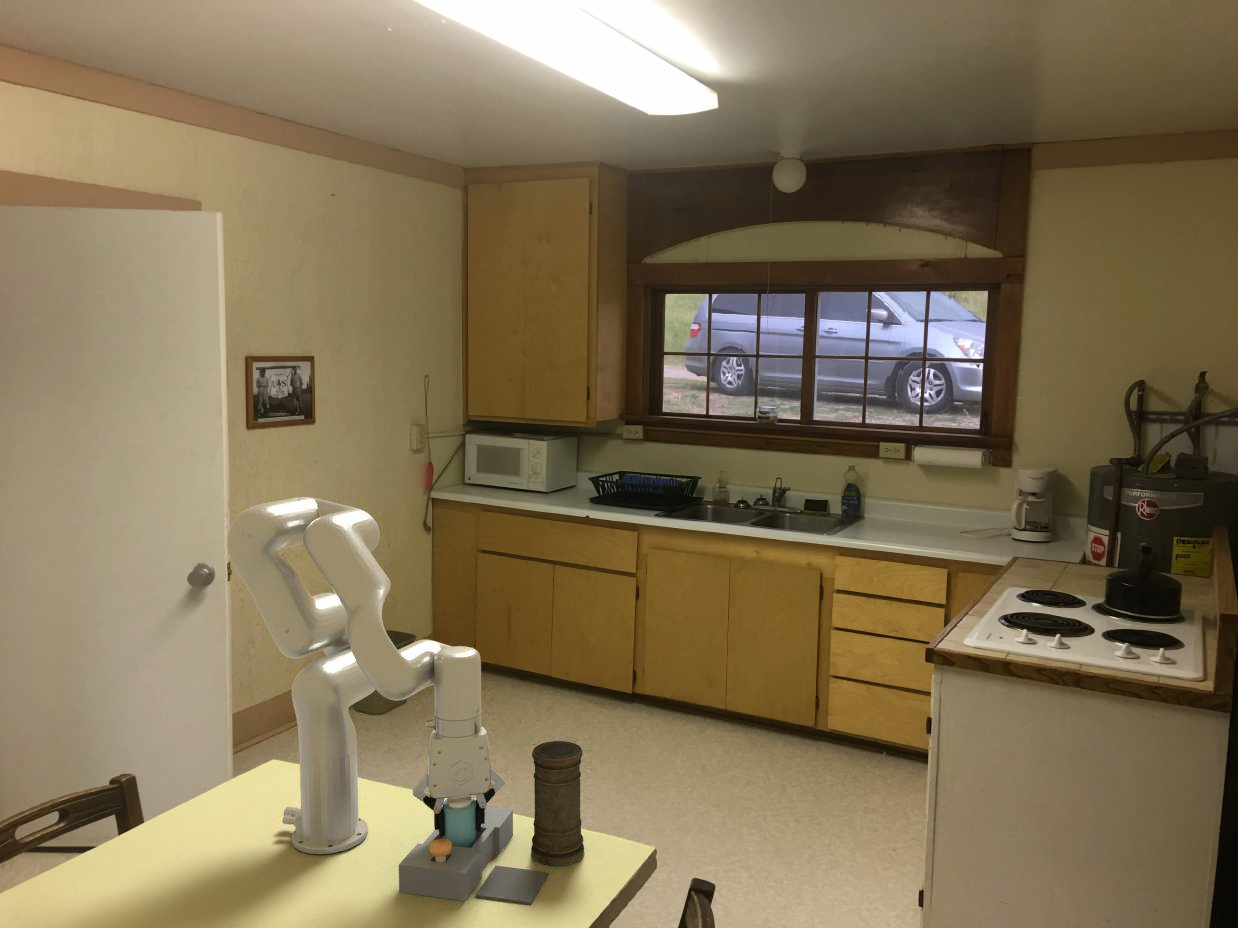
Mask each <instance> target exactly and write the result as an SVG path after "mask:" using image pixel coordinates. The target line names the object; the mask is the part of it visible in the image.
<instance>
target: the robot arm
mask: <svg viewBox="0 0 1238 928" xmlns="http://www.w3.org/2000/svg"><path fill="white" fill-rule="evenodd" d="M380 532H381V531H380V529H379V525H378V523H377V521H376V520H375V519H374V517H373V516H372V515H371V514H369V513H368V512H366V511H365V510H363V509H360V508H357V507H354V506H353V507H352V506H349V505H345V504H342V503H341V504H340V503H336V502H334V501H329V500H324V499H320V498H317V497H310V496H299V497H292V498H287V499H282V500H281V499H279V500H274V501H268V502H264V503H259V504H256V505H253V506H251V507H248V508H246V509H245V510H243V511H242V512H241V513H240V512H239V514H238V515H237V516H236V517H235V519H234V520H233V521H232V523H231V525H230V528H229V531H228V533H227V552H228V557H229V560H230V562H231V565H232V566H233V568H234V570H235V572H236V573H237V575H238V576H239V578H240V580H241V581H242V583H243V584H244V585H245V588H246V589H247V590H248V592H249V593H250V594H249V595H250V596H251V597H252V599H253V602H254V603H255V606H256V608H257V610H258V612H259V614H260V617H261V618H262V620H263V622H264V624H265V626H266V628H267V630H268V632H269V634H270V636H271V638H272V640H273V642H274V644H275V645H276V647H277V649H278V650H279V652H280V653H281V654H282V655H283V656H285V657H286V658H290V659H302V658H305V657H308V656H311V655H312V654H315V653H317V652H320V651H323V652H324V654H325V656H324V657H321V658H319V659H317V660H314V661H313V662H311V663H309V664H308V665H306V666H305V667H303V668H302V669H301V670H300V671H299V672H298V673H297V675H296V676H295V678H294V680H293V682H292V685H291V699H292V705H293V709H294V712H295V719H296V724H297V733H298V734H297V735H298V755H299V776H300V777H299V783H300V784H299V789H300V808H298V807H296V806H295V807H294V806H286V807H285V808H284V811H283V818H282V821H281V822H282V824H284V825H293V826H294V827H295V829H294V831H293V833H292V834H291V835H292V837H291V842H292V845H293V847H294V848H295V849H296V850H298V851H300V852H303V853H305V854H311V855H328V854H334V853H340V852H344V851H346V850H349V849H352V848H354V847H355V846H357V845H358V844H360V843H362V842H363V841H364V840H365V839H366V838H367V836H368V834H369V825H368V823H367V822H366V821H365V820H364V819H363V818H361V817H359V789H358V788H359V784H358V783H359V781H358V776H359V775H358V747H357V746H358V742H357V741H358V740H357V731H356V727H355V724H354V723H353V720H352V718H351V716H350V713H349V707H351V706H353V705H354V704H356V703H358V702H359V701H361V700H363V699H365V698H366V697H368V696H370V695H371V694H372V693H374V692H375V691H377V693H379V694H380V695H381V696H382V697H384V698H386V699H388V700H389V701H390V700H391V701H403V700H407V699H408V698H410V697H412V696H414V695H416V694H417V693H418V692H420V691H422V690H423V689H426V688H428V687H432V686H433V689H434V690H433V691H434V696H433V697H434V702H433V703H434V713H433V716H432V718H430V719H425V728H426V729H432V732H431V733H430V737H429V743H428V750H427V751H428V752H427V763H426V764H427V765H426V766H427V767H426V772H425V774H424V775H423V776H422V778H420V780H419V781H418V782H417V784H415V786H414V787H413V788H412V796H413V797H414V798H416V799H417V800H420V801H421V802H423V804H424V805H426V807H428V808H429V809H430V810H431V811H432V813H433V826H434V830H439V835H440V837H443V836H444V812H443V802H444V801H445V799H447V798H452V797H460V796H469V795H470V796H475V798H477V799H476V831H478V832H481V824H485V807H487V804H488V803H490V801H491V800H492V799H493V797H494V796H495V795H496V793H497V792H499V791H500V790H501V789H502V788H503V787H504V786H505V784H506V781H505V779H504V778H503V776H502V775H500V774H499V773H498V772H497V771H496V770H495V768H493V767H492V764H491V750H490V743H489V742H490V741H489V738H488V732H487V730H486V729H485V727H483V726H482V663H481V662H482V661H481V660H482V659H481V655H480V654H481V653H479V651H478V650H477V649H475V648H474V647H469V646H463V645H458V646H457V645H456V646H455V645H454V646H452V645H448V644H445V643H442V642H438V641H435V640H431V639H418V640H416V641H413V642H412V643H410V644H408V645H406V646H404V647H401V648H399V649H397V647H396V646H395V644H394V643H393V641H392V640H391V638H390V637H389V635H388V633H387V631H386V628H385V625H384V620H383V607H384V605H385V600H386V598H387V595H389V592H390V591H391V587H392V583H391V580H390V578H389V577H388V575H387V574H386V573H385V571H384V570H383V568H382V567H381V565H380V564H379V563H378V561H377V559H375V557H374V556H373V554H372V552H373V551H374V550H375V549H376V548H377V546H378V544H379V542H380V537H381V535H380V534H381V533H380ZM301 545H303V546H304V549H305V551H306V553H307V554H308V556H309V558H310V559H311V560H312V562H313V563H314V565H315V566H316V568H317V569H318V571H319V572H320V574H321V575H322V577H323V578H324V579H325V581H326V582H327V584H328V585H329V587H330V588H331V590H332V591H333V592H321V593H318V594H315V595H312V594H310V592H309V591H308V589H307V587H306V585H305V583H304V581H303V579H302V577H301V575H300V573H299V572H298V571H297V570H296V568H295V567H294V566H293V565H292V564H291V563H290V562H289V561H287V560H286V559H285V558H284V557H282V555H280V551H282V550H286V549H290V548H294V547H298V546H301ZM427 788H428V792H426V791H425V789H427Z"/></svg>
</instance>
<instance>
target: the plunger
mask: <svg viewBox="0 0 1238 928" xmlns="http://www.w3.org/2000/svg"><path fill="white" fill-rule="evenodd" d="M451 851H452V843H451V841H450V840H448V839H437V840H434V841H432V842H431V843H430V854H431V855H432V856H435V857H436V862H441V863H446V855H448V854H450V853H451Z"/></svg>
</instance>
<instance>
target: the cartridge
mask: <svg viewBox="0 0 1238 928" xmlns="http://www.w3.org/2000/svg"><path fill="white" fill-rule="evenodd" d="M442 807H443V812H444V836H443V839H448V840H450V841H451V843H452V846H458V847H466V848H472V846H473V845H474V844H475V843H476V801H475V799H473V797H472V795H469V796H460V797H452V798H446V800H445V799H444V802H443V805H442Z"/></svg>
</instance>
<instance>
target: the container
mask: <svg viewBox="0 0 1238 928" xmlns="http://www.w3.org/2000/svg"><path fill="white" fill-rule="evenodd" d="M531 756H532V760H533V765H534V773H533V778H534V786H533V787H534V819H533V823H532V824H533V836H532V838H531V848H530V852H531V855H532V857H533V858H534V859H535V861H537V862H538V863H541V864H543V865H547V866H553V867H557V866H559V867H561V866H563V867H564V866H568V865H572V864H575V863H576V862H579V860H581V859H582V857H583V855H584V853H585V845H584V843H583V842H584V836H583V834H582V819H581V776H582V772H581V770H580V765H581V763H582V757H583V749H582V747H581V746H580V745H578V744H576V743H574V742H571V741H564V740H554V741H553V740H552V741H547V742H543V743H540V744H538V745H536V746H535V747H534V748H533V749H532V753H531Z"/></svg>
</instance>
